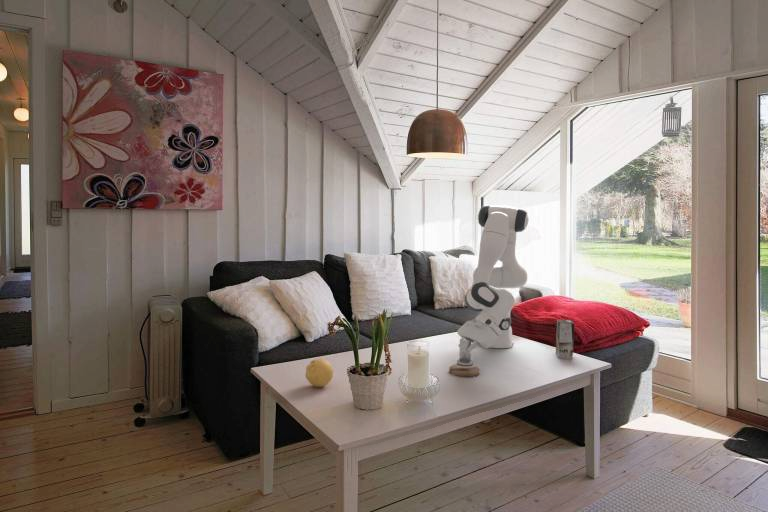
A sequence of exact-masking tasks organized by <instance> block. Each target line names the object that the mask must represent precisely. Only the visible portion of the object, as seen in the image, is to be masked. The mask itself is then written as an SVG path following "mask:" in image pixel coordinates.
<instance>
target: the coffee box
mask: <svg viewBox="0 0 768 512" xmlns="http://www.w3.org/2000/svg"><path fill="white" fill-rule="evenodd" d="M555 336H556V337H555V339H556V340H555V354H556V356H557V358H558V359H565V358H566V360H567V359H568V360H572V359H573V355H574V342H575V341H574V336H575V322H574V321H573V320H572V319H556V335H555Z"/></svg>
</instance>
